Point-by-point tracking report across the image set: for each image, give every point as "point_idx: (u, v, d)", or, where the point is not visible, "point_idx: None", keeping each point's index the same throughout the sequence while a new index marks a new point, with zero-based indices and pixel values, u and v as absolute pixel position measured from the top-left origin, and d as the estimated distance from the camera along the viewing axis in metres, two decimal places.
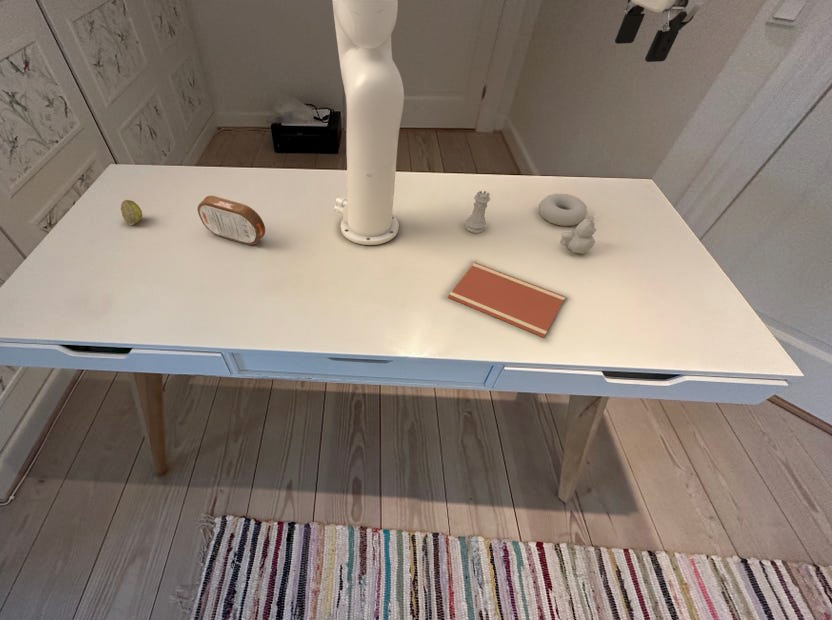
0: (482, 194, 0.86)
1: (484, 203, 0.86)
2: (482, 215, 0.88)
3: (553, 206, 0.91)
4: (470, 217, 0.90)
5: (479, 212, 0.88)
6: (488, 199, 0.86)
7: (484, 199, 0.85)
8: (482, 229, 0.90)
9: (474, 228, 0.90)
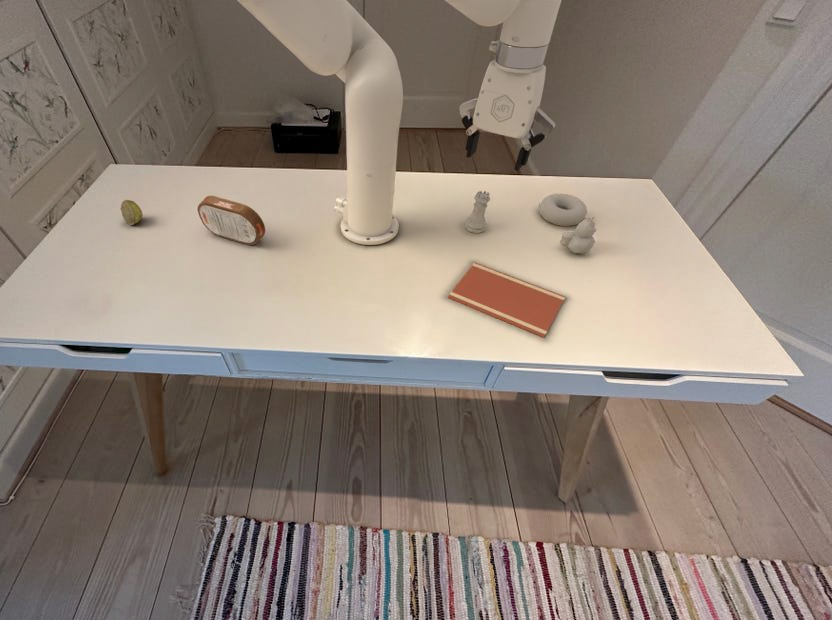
0: (482, 194, 0.86)
1: (484, 203, 0.86)
2: (482, 215, 0.88)
3: (553, 206, 0.91)
4: (470, 217, 0.90)
5: (479, 212, 0.88)
6: (488, 199, 0.86)
7: (484, 199, 0.85)
8: (482, 229, 0.90)
9: (474, 228, 0.90)
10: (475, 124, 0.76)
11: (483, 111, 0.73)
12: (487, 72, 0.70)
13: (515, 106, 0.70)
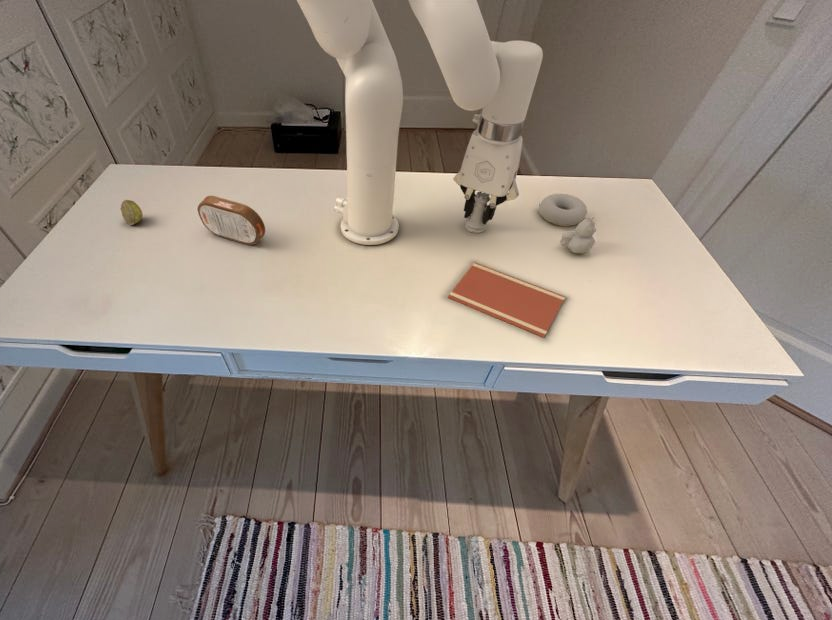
0: (482, 194, 0.86)
1: (484, 203, 0.86)
2: (482, 215, 0.88)
3: (553, 206, 0.91)
4: (470, 216, 0.90)
5: (479, 212, 0.88)
6: (488, 199, 0.86)
7: (484, 199, 0.85)
8: (482, 229, 0.90)
9: (474, 228, 0.90)
10: (461, 182, 0.84)
11: (468, 172, 0.82)
12: (471, 140, 0.78)
13: (495, 170, 0.78)
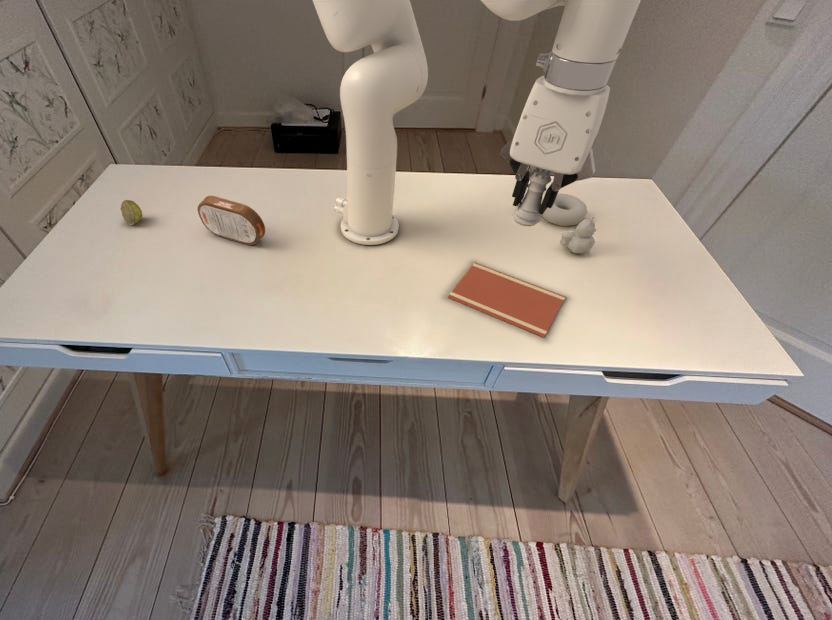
0: (540, 172, 0.63)
1: (543, 185, 0.63)
2: (538, 202, 0.65)
3: (553, 206, 0.91)
4: (521, 204, 0.66)
5: (535, 198, 0.64)
6: (549, 179, 0.62)
7: (544, 179, 0.62)
8: (537, 221, 0.67)
9: (526, 219, 0.66)
10: (513, 155, 0.61)
11: (524, 140, 0.58)
12: (533, 93, 0.55)
13: (568, 136, 0.55)
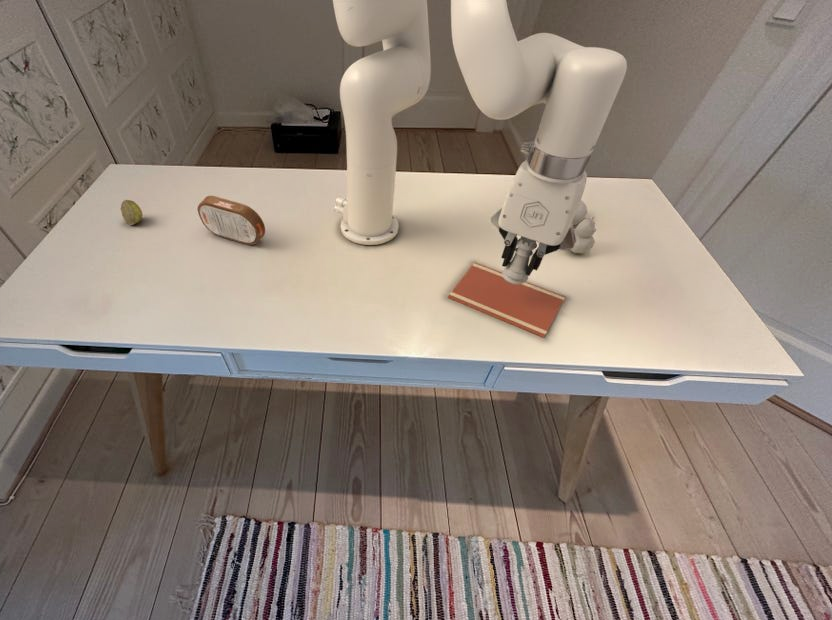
0: (527, 239, 0.68)
1: (529, 250, 0.68)
2: (525, 264, 0.70)
3: None
4: (510, 265, 0.72)
5: (522, 261, 0.70)
6: (535, 245, 0.68)
7: (530, 246, 0.68)
8: (524, 280, 0.73)
9: (515, 279, 0.72)
10: (501, 226, 0.66)
11: (511, 214, 0.64)
12: (518, 175, 0.60)
13: (550, 214, 0.61)
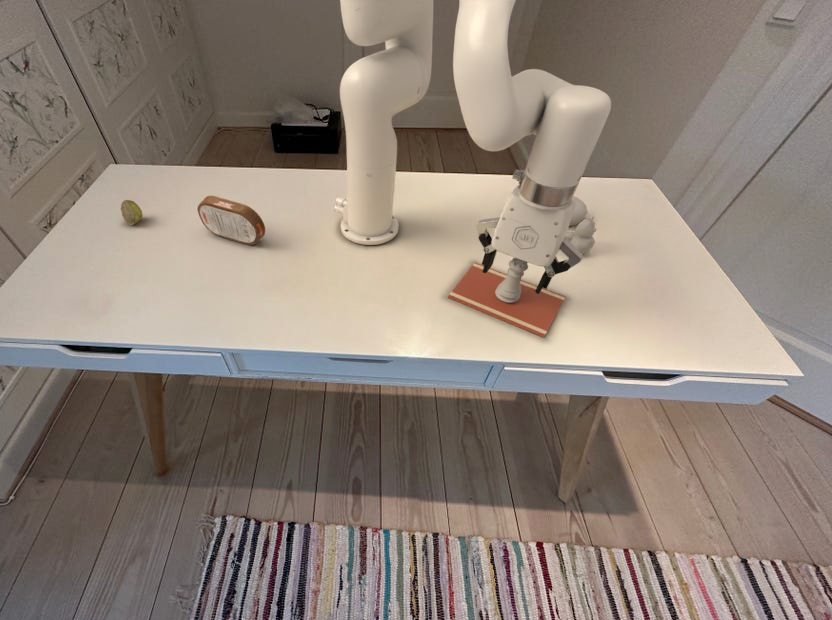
0: (518, 261, 0.72)
1: (521, 272, 0.72)
2: (517, 284, 0.74)
3: None
4: (502, 284, 0.75)
5: (514, 281, 0.73)
6: (526, 267, 0.71)
7: (521, 267, 0.71)
8: (516, 298, 0.76)
9: (507, 298, 0.75)
10: (494, 246, 0.69)
11: (503, 236, 0.67)
12: (509, 201, 0.63)
13: (540, 238, 0.64)
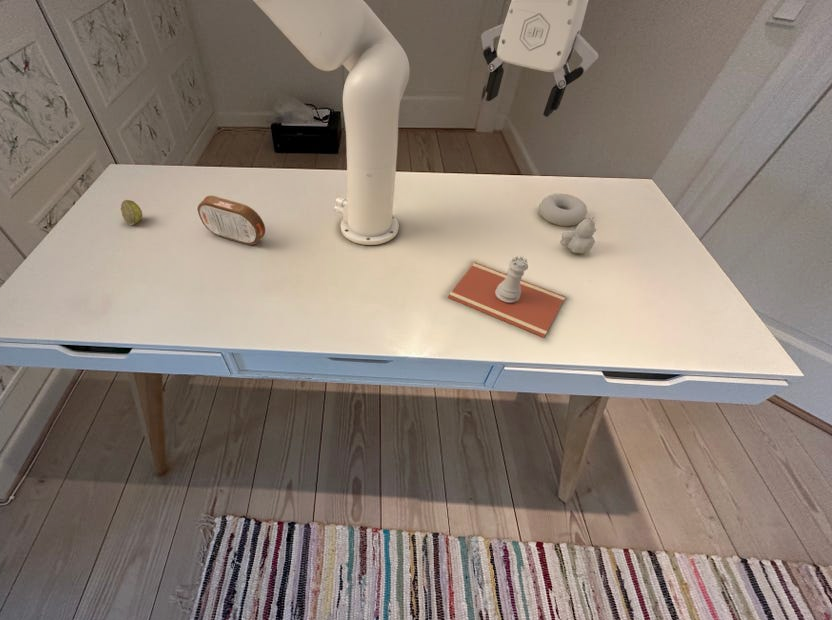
0: (518, 261, 0.72)
1: (521, 272, 0.72)
2: (517, 284, 0.74)
3: (553, 206, 0.91)
4: (502, 284, 0.75)
5: (514, 281, 0.73)
6: (526, 267, 0.71)
7: (521, 267, 0.71)
8: (516, 298, 0.76)
9: (507, 298, 0.75)
10: (499, 55, 0.63)
11: (510, 37, 0.61)
12: None
13: (551, 28, 0.57)
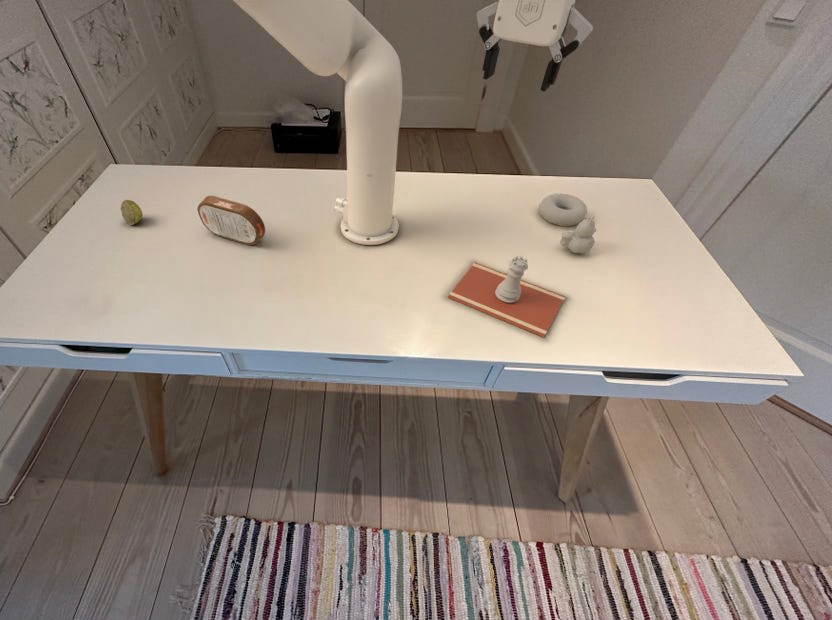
0: (518, 261, 0.72)
1: (521, 272, 0.72)
2: (517, 284, 0.74)
3: (553, 206, 0.91)
4: (502, 284, 0.75)
5: (514, 281, 0.73)
6: (526, 267, 0.71)
7: (521, 267, 0.71)
8: (516, 298, 0.76)
9: (507, 298, 0.75)
10: (496, 32, 0.64)
11: (506, 14, 0.62)
12: None
13: (546, 2, 0.59)
